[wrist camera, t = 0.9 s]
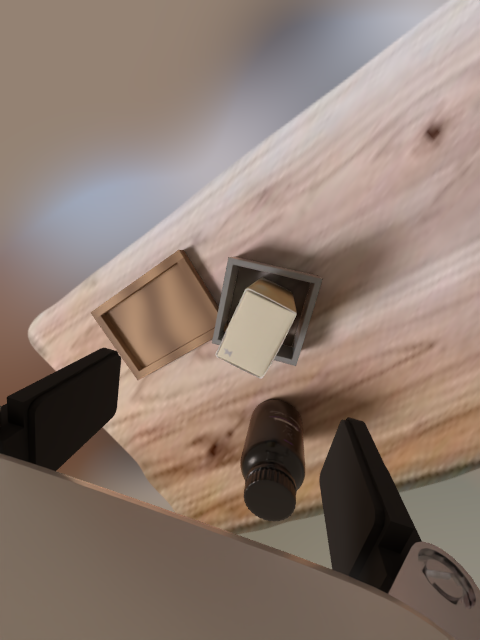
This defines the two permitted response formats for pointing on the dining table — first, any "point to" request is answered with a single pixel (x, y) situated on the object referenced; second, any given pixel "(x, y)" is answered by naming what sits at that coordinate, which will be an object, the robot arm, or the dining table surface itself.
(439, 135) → the dining table surface
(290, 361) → the holder
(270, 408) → the supplement bottle
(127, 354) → the tray
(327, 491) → the robot arm
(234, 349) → the skincare box
